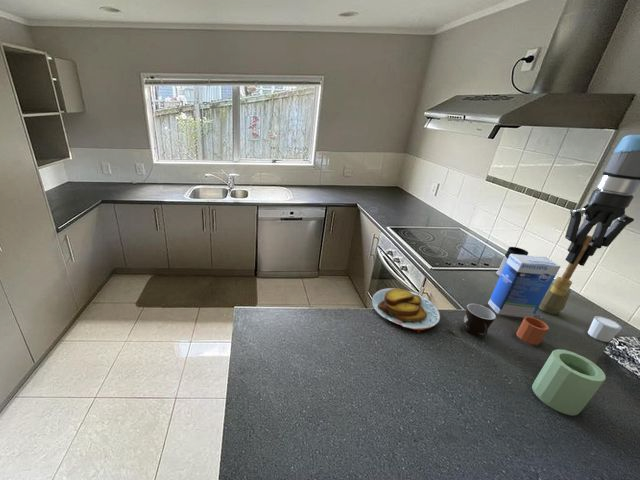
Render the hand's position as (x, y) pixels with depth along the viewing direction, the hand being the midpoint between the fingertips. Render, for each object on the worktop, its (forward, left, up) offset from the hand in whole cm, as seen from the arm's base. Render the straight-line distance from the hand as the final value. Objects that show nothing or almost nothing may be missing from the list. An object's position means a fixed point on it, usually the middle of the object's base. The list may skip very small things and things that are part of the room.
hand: (574, 262), depth 89 cm
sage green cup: (-9, +22, -34) cm, 42 cm away
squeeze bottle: (-1, -32, -35) cm, 47 cm away
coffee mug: (+15, +12, -35) cm, 40 cm away
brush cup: (+1, -2, -34) cm, 35 cm away
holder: (+15, -50, -35) cm, 63 cm away
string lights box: (+9, -16, -35) cm, 39 cm away
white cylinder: (-16, -27, -35) cm, 47 cm away
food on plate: (+37, +20, -35) cm, 54 cm away
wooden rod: (0, 0, -12) cm, 12 cm away
